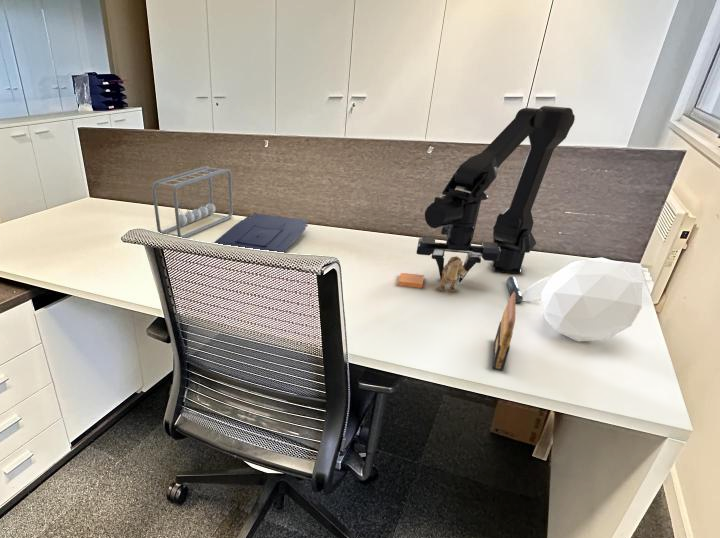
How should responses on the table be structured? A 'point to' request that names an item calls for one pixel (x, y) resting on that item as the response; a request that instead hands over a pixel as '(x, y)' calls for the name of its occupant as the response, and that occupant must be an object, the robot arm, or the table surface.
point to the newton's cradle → (195, 213)
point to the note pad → (411, 280)
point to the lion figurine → (452, 272)
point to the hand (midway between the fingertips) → (450, 280)
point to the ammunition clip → (504, 335)
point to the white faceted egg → (589, 299)
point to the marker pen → (514, 289)
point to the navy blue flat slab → (264, 232)
